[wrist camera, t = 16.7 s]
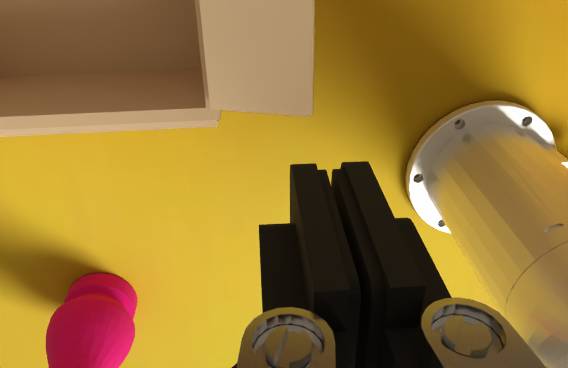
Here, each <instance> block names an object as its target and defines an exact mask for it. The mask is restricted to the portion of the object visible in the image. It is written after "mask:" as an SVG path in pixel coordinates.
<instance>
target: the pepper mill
mask: <svg viewBox="0 0 568 368" xmlns="http://www.w3.org/2000/svg"><path fill="white" fill-rule="evenodd" d="M136 306H137V295H136V293H135V291H134V289H133V288H132V287H131V285H130V284H129V283H127V282H126V281H125V280H123V279H121V278H119V277H117V276H115V275H111V274H106V273H94V274H89V275H85V276H83V277H81V278H79V279H78V280H77V281H75V282H74V283H73V285H72V286H71V288H70V290H69V292H68V295H67V297H66V299H65V302H64V304H63V305H61V306H60V307H59V308H58V309H57V310H56V311H55V312H54V314H53V315H52V317H51V319H50V322H49V325H48V329H47V333H46V353H47V359H48V364H49V368H118V367H119V366H120V365H121V364H122V363H123V361H124V359H125V358H126V356H127V355H128V353H129V351H130V349H131V346H132V343H133V341H134V337H135V325H134V322H133V318H134V314H135V310H136Z"/></svg>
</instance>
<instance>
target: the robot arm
mask: <svg viewBox="0 0 568 368" xmlns="http://www.w3.org/2000/svg"><path fill="white" fill-rule="evenodd" d="M457 120H458V121H457ZM456 121H457V122H456ZM406 190H407V194H408V198H409V200H410V202H411V204H412V206H413V208H414V210H415V211H416V212H417V214H418V215H419V217H420V218H421V219H422V220H424V221H425V222H426V223H427V224H428V225H430V226H432V227H433V228H435V229H437V230H440V231H443V232H447V233H450V234H451V235H452V237H453V238H454V240H455V241H456V243H457V245H458V246H459V248H460V250H461V251H462V253H463V254H464V256H465V258H466V259H467V261H468V263H469V264H470V266H471V268H472V269H473V271H474V272H475V274H476V276H477V277H478V279H479V281H480V282H481V284H482V286H483V287H484V289H485V290H486V292H487V294H488V295H489V297H490V299H491V300H492V302H493V304H494V305H495V307H496V308H497V310H498V312H497V311H496V310H494V309H492V308H491V307H489V306H487V305H485V304H483V303H480V302H477V301H474V300H471V299H465V298H452V297H451V295H450V294H449V292H448V290H447V288H446V286H445V284H444V282H443V280H442V278H441V276H440V274H439V272H438V270H437V268H436V266H435V264H434V262H433V260H432V259H431V257H430V255H429V253H428V251H427V249H426V247H425V245H424V243H423V241H422V239H421V237H420V235H419V233H418V231H417V229H416V227H415V226H414V224H413V222H412V221H411V219H409V218H394V216H393V213H392V211H391V209H390V207H389V205H388V203H387V201H386V198H385V196H384V194H383V192H382V190H381V188H380V186H379V183H378V181H377V179H376V177H375V175H374V173H373V170H372V168H371V166H370V164H369V162H367V161H365V162H342V164H341V169H333V171H332V181H331V185H330V181H329V178H328V175H327V171H326V170H318V169H317V165H316V164H292V165H290V223H288V224H267V225H259V240H260V264H261V287H262V308H263V313H262V314H261V315H259V316H258V317H256V318H254V319H253V321H252V322H251V323H250V324H249V325H248V326H247V327H246V330H245V332H244V335H243V337H242V341H241V346H240V351H239V357H238V362H237V364H235V365H234V366H233V367H232V368H568V159H567V158H565V157H564V156H563V155H562V154H561V153H559V152H558V151H557V150H556V143H555V140H554V137H553V134H552V131H551V130H550V128H549V127H548V125H547V124H546V122H545V121H543V120H542V119H541V118H540V117H539V116H538V115H537V114H535V113H534V112H532V111H531V110H529V109H528V108H526V107H524V106H522V105H519V104H516V103H514V102H507V101H501V100H497V101H483V102H478V103H474V104H470V105H467V106H465V107H462V108H460V109H457V110H455V111H453V112H452V113H450V114H448V115H447V116H445V117H443V118H442V119H441V120H439V121H438V122H437V123H436V124H435V125H433V126H432V127H431V128H430V129H429V130H428V131H427V132H426V133H425V135H424V136H423V137H422V138H421V139H420V141H419V142H418V144H417V145H416V147H415V149H414V150H413V152H412V155H411V157H410V160H409V162H408V165H407V171H406Z"/></svg>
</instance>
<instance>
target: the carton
mask: <svg viewBox="0 0 568 368" xmlns="http://www.w3.org/2000/svg"><path fill="white" fill-rule="evenodd" d="M220 118H221V110H210V103H209V93H208V83H207V73H206V63H205V53H204V43H203V33H202V23H201V13H200V3H199V0H0V137H8V136H30V135H51V134H73V133H94V132H115V131H137V130H158V129H180V128H201V127H218V121H219V120H220Z"/></svg>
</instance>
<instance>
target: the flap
mask: <svg viewBox="0 0 568 368" xmlns="http://www.w3.org/2000/svg"><path fill="white" fill-rule="evenodd" d="M199 3H200V13H201V23H202V33H203V43H204V53H205V63H206V73H207V83H208V93H209V103H210V110H224V111H238V112H252V113H266V114H280V115H294V116H308V117H312V114H313V92H314V18H315V0H199Z"/></svg>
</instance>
